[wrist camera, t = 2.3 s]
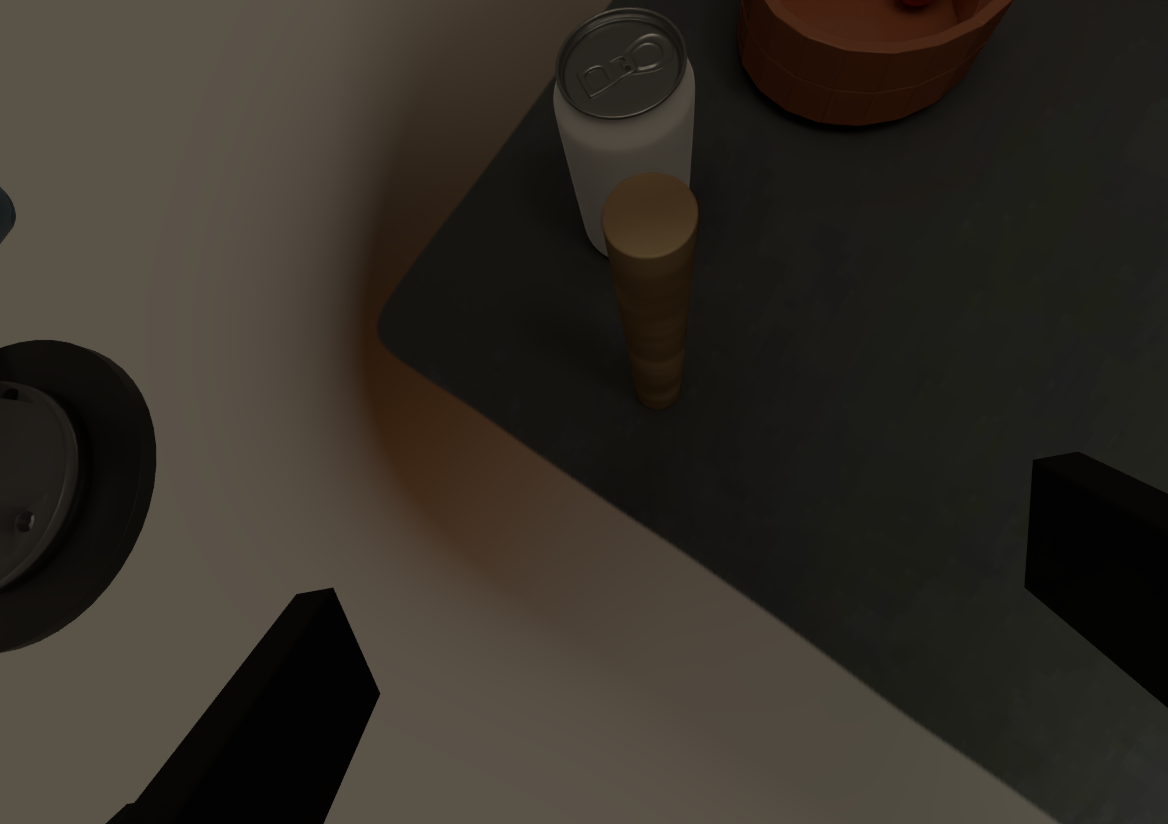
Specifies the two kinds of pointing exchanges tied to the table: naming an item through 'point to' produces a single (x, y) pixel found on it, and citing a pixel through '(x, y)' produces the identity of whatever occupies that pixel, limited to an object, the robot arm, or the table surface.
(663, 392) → the stick
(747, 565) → the table surface
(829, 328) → the table surface
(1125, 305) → the table surface
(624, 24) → the can
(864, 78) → the stir bowl
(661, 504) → the table surface
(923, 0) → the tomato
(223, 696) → the robot arm
